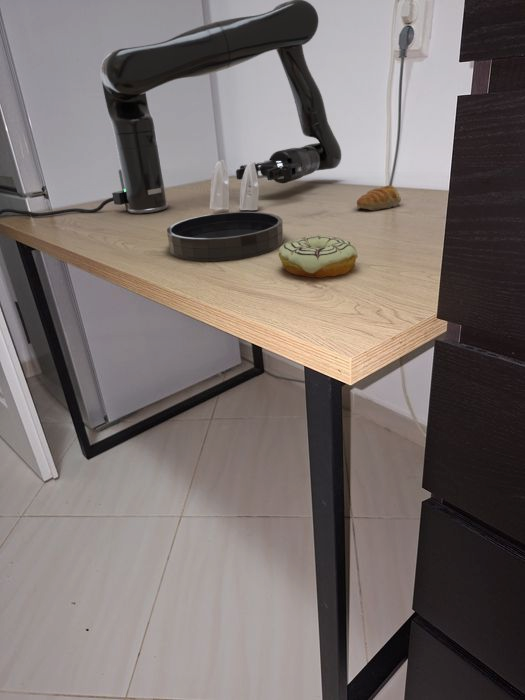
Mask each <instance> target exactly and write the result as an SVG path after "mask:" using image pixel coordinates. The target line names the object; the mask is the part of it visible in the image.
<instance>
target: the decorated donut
mask: <svg viewBox="0 0 525 700" xmlns="http://www.w3.org/2000/svg"><path fill="white" fill-rule="evenodd" d="M278 257H279V260H280V262H281V264H282V266H283V268H284V269H285V270H286V271H287V272H289V273H290V274H293V275H295V276H302V277H307V276H308V277H310V278H315V277H316V278H318V279H321V278H322V279H323V278H325V277H336V276H338V275H345V274H347V273H348V272H349V271H350V270H352V269H353V267H355V266H356V264H355V263H356V261H357V258H358V257H359V254H358V250H357V248H356V246H355V245H354V243H352V242H351V241H348V240H346V239H343V238H340V237H335V236H328V235H311V236H310V235H308V236H302V237H300V238H299V237H298V238H296V239H293V240H290V241H288V242H285V243H282V244H281V246H279V249H278Z"/></svg>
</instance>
